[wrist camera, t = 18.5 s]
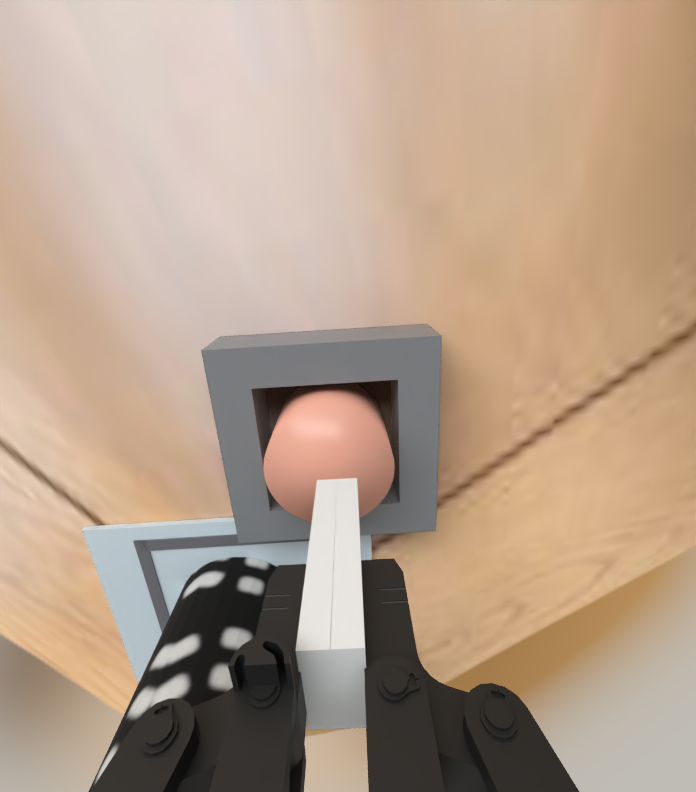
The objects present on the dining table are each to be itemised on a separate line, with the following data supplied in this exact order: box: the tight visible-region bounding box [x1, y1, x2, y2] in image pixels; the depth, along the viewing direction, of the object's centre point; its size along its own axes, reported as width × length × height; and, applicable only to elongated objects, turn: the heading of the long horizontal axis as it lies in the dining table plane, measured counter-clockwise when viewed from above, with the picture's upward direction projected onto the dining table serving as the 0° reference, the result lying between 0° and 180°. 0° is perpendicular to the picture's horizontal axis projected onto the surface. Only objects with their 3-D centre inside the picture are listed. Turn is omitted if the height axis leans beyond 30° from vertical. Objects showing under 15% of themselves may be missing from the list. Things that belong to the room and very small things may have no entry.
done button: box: [263, 383, 395, 522], centre depth 20 cm, size 6×6×4 cm
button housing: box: [201, 324, 441, 543], centre depth 21 cm, size 11×11×3 cm
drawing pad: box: [82, 517, 372, 682], centre depth 27 cm, size 18×14×1 cm
